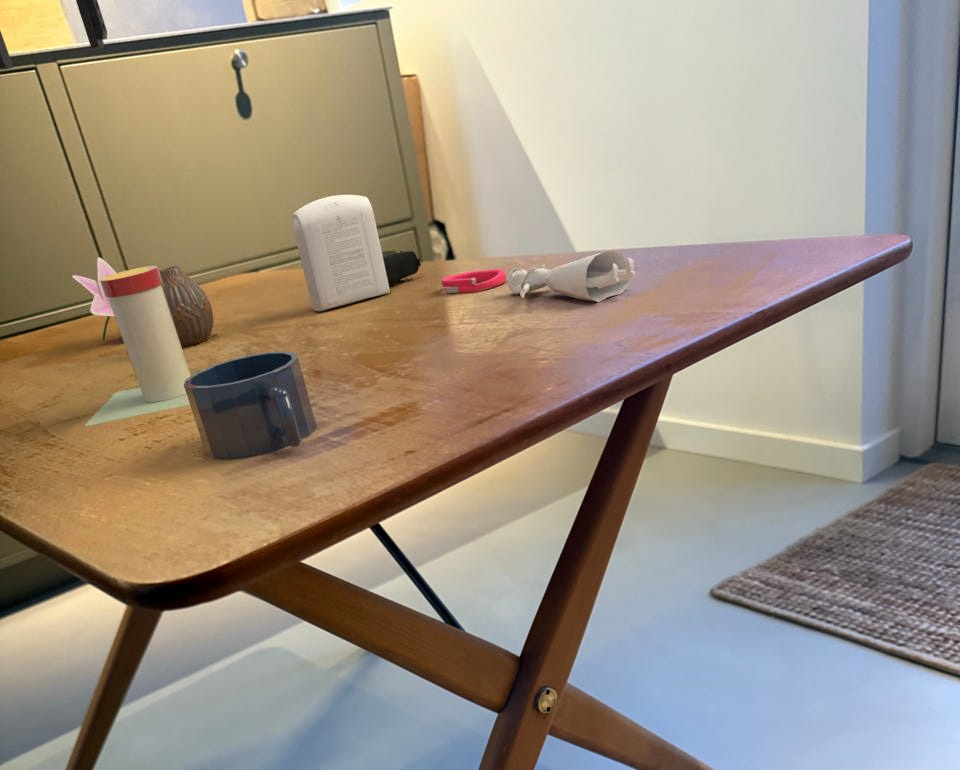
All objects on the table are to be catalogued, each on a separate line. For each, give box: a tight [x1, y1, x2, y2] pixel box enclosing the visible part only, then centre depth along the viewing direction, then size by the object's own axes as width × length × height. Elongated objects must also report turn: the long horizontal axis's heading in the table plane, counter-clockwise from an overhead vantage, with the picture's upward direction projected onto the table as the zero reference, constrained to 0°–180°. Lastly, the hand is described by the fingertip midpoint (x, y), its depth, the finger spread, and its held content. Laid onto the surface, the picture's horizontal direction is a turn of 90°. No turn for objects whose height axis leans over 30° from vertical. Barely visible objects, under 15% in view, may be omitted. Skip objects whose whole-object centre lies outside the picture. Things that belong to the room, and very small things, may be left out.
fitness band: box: [441, 268, 507, 294], centre depth 122 cm, size 8×6×2 cm
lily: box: [71, 257, 117, 342], centre depth 136 cm, size 12×12×10 cm
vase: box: [159, 265, 214, 348], centre depth 123 cm, size 7×7×9 cm
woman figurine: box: [506, 249, 636, 303], centre depth 108 cm, size 12×4×18 cm
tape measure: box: [382, 249, 422, 286], centre depth 135 cm, size 7×7×4 cm
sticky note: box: [83, 386, 190, 428], centre depth 101 cm, size 14×12×1 cm
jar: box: [100, 265, 192, 402], centre depth 98 cm, size 5×5×12 cm
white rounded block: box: [292, 194, 391, 312], centre depth 126 cm, size 10×4×12 cm, turn 116°
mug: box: [184, 350, 318, 460], centre depth 79 cm, size 12×9×6 cm
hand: (51, 58), depth 92 cm, fingers open, 8 cm apart
